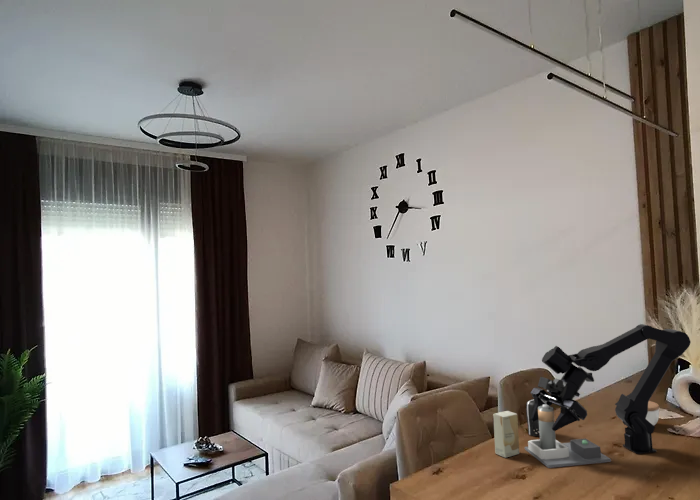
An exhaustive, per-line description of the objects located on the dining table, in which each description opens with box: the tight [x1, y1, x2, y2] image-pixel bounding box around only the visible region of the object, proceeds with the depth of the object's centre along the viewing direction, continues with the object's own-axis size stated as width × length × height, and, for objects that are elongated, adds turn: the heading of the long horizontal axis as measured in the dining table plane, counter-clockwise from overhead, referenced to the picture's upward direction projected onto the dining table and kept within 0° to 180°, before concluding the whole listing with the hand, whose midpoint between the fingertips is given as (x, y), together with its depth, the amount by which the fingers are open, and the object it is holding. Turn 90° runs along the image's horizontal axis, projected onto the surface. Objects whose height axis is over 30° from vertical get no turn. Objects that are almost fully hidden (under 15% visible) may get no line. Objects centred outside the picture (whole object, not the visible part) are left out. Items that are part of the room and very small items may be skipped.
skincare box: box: [492, 410, 520, 459], centre depth 142 cm, size 6×4×12 cm
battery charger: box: [525, 398, 540, 437], centre depth 157 cm, size 7×4×11 cm, turn 121°
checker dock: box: [524, 438, 612, 469], centre depth 139 cm, size 19×14×5 cm
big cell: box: [538, 404, 557, 450], centre depth 140 cm, size 4×4×14 cm
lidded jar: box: [646, 400, 660, 427], centre depth 160 cm, size 11×11×9 cm
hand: (542, 425), depth 139 cm, fingers open, 9 cm apart
